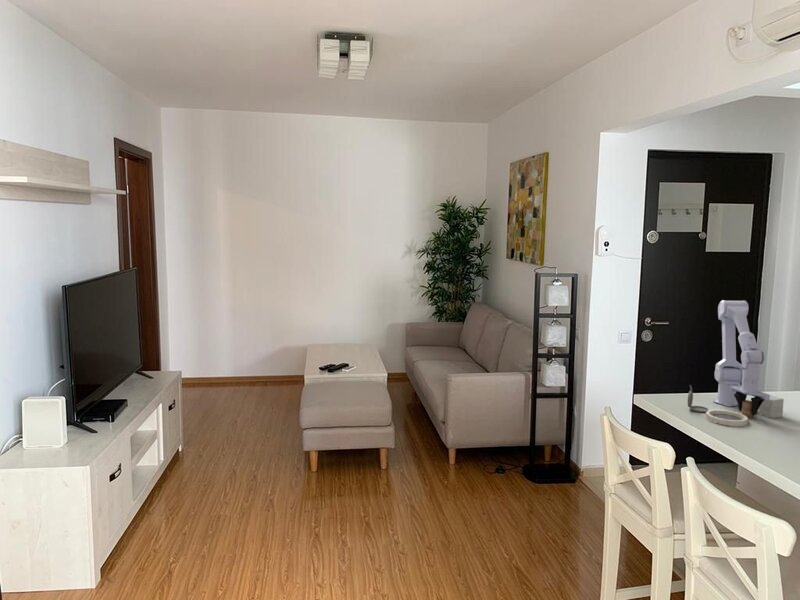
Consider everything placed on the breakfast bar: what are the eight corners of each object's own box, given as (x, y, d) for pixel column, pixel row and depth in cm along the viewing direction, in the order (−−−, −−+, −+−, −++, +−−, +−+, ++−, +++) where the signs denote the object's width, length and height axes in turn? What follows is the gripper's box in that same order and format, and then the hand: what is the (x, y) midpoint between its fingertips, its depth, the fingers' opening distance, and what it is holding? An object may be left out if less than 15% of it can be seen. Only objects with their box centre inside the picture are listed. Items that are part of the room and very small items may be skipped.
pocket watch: (711, 413, 236) (713, 388, 235) (690, 412, 236) (691, 388, 235) (701, 407, 244) (703, 383, 243) (681, 406, 244) (682, 383, 243)
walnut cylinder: (745, 414, 235) (746, 399, 234) (756, 417, 231) (757, 402, 230) (738, 415, 233) (739, 401, 232) (749, 418, 229) (750, 404, 228)
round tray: (720, 412, 236) (720, 407, 236) (755, 422, 224) (755, 417, 224) (698, 417, 230) (698, 412, 230) (732, 428, 218) (733, 423, 217)
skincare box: (782, 417, 232) (784, 398, 231) (770, 418, 230) (772, 400, 229) (769, 412, 238) (770, 394, 237) (757, 413, 236) (758, 395, 235)
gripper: (726, 376, 234) (723, 409, 236) (763, 385, 222) (760, 419, 223) (737, 374, 238) (734, 407, 239) (774, 382, 225) (771, 417, 227)
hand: (747, 413), depth 232 cm, fingers closed on walnut cylinder, 4 cm apart
